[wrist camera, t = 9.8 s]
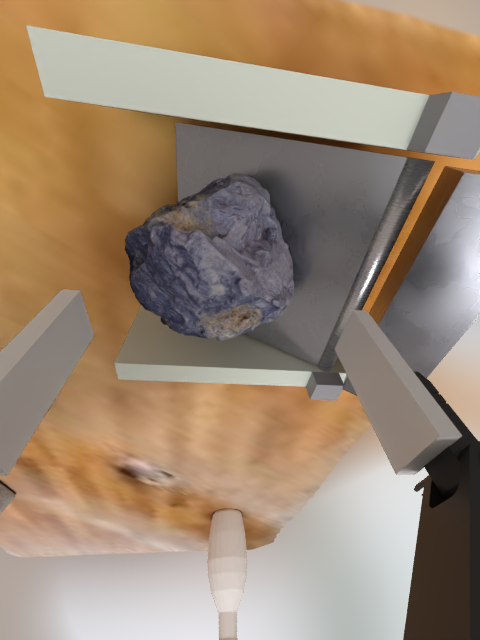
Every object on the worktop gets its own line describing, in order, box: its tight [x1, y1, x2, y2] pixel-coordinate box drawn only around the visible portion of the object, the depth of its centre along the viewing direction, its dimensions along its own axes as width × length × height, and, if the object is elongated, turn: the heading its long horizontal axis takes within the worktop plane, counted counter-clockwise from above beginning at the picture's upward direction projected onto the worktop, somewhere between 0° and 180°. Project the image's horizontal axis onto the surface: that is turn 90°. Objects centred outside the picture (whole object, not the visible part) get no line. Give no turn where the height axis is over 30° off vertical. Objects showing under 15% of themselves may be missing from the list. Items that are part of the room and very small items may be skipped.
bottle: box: [208, 509, 247, 640], centre depth 70 cm, size 11×11×25 cm
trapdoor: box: [176, 122, 480, 396], centre depth 20 cm, size 21×15×7 cm
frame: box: [26, 25, 480, 400], centre depth 21 cm, size 20×20×14 cm
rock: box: [125, 173, 294, 341], centre depth 18 cm, size 11×10×10 cm
